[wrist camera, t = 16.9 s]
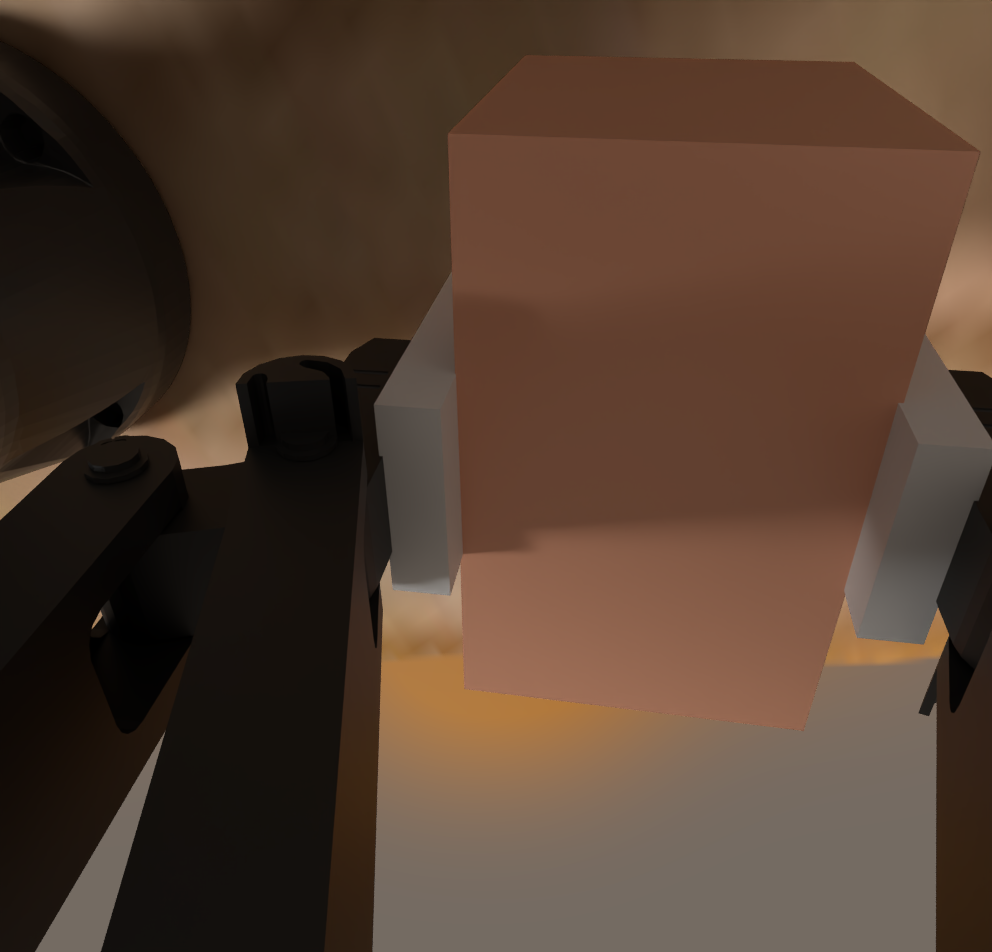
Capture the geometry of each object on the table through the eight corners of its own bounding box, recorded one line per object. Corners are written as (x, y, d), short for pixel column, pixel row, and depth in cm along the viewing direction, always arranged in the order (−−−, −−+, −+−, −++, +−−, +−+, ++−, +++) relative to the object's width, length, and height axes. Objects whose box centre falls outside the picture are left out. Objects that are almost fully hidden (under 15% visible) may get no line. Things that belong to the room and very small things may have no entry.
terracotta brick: (518, 475, 18) (464, 688, 13) (525, 55, 13) (447, 133, 8) (761, 496, 17) (804, 730, 12) (854, 62, 13) (980, 151, 8)
